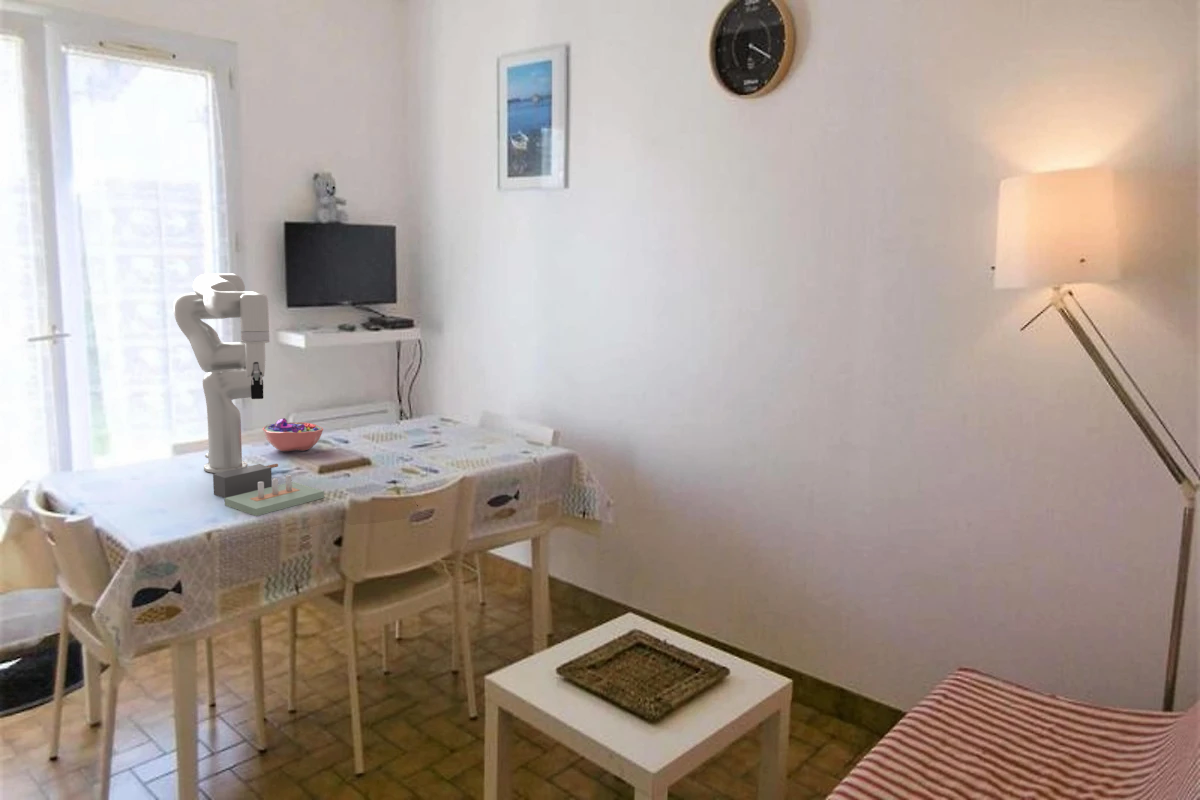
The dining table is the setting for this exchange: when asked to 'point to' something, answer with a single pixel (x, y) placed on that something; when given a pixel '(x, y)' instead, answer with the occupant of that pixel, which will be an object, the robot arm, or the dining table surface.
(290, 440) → the cell model
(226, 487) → the block
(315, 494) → the header board
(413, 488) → the dining table surface
